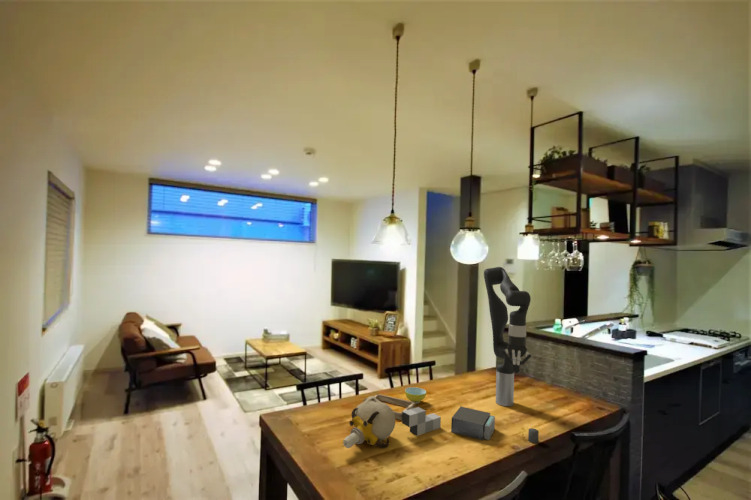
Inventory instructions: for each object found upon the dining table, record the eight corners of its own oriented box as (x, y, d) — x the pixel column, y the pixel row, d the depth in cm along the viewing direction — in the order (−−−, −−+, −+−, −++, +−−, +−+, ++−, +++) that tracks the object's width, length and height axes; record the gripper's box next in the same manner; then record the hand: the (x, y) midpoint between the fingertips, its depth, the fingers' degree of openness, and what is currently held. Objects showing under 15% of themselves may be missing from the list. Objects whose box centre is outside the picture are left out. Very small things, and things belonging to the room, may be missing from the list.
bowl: (427, 407, 192) (427, 395, 192) (405, 406, 192) (405, 394, 193) (424, 398, 204) (425, 387, 204) (404, 398, 204) (404, 386, 204)
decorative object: (368, 385, 170) (317, 409, 148) (407, 407, 156) (356, 438, 134) (366, 414, 173) (315, 443, 151) (403, 439, 158) (353, 475, 136)
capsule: (528, 437, 162) (529, 427, 162) (538, 440, 160) (538, 429, 160) (527, 441, 158) (528, 431, 158) (537, 444, 156) (538, 433, 156)
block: (409, 439, 157) (409, 415, 157) (401, 434, 161) (401, 411, 161) (440, 427, 169) (440, 405, 169) (432, 423, 173) (433, 402, 173)
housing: (460, 419, 178) (460, 406, 178) (489, 427, 171) (490, 413, 171) (451, 432, 164) (451, 417, 165) (482, 440, 158) (483, 425, 158)
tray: (462, 421, 176) (463, 408, 176) (494, 428, 169) (494, 415, 169) (455, 431, 165) (455, 418, 165) (489, 439, 158) (489, 426, 158)
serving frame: (377, 399, 200) (377, 393, 201) (415, 408, 190) (415, 402, 190) (362, 410, 186) (362, 404, 186) (401, 420, 175) (401, 414, 175)
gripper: (500, 334, 167) (499, 372, 167) (532, 337, 161) (531, 377, 160) (503, 331, 174) (502, 368, 173) (533, 335, 167) (532, 373, 167)
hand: (516, 372), depth 167 cm, fingers closed
